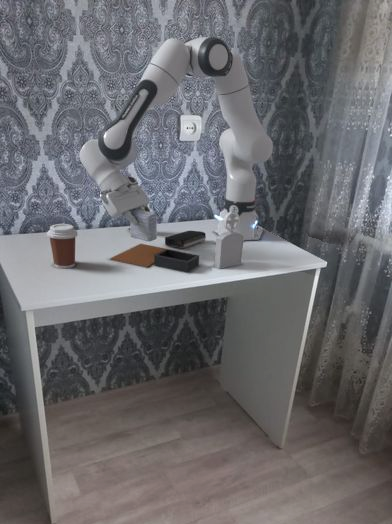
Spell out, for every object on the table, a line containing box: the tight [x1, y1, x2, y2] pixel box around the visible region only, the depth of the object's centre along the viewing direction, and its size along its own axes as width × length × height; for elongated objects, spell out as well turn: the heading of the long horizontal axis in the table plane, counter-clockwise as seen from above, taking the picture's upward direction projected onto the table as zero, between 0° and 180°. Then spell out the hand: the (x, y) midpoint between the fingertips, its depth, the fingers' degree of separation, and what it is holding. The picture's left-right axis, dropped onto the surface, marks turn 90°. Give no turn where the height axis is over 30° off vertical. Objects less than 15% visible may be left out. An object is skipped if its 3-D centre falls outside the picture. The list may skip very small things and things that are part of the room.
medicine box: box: [129, 209, 158, 243], centre depth 162 cm, size 8×4×9 cm, turn 56°
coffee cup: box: [46, 223, 78, 269], centre depth 152 cm, size 9×9×12 cm
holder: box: [153, 248, 200, 274], centre depth 159 cm, size 8×12×4 cm
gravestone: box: [213, 210, 244, 270], centre depth 159 cm, size 3×9×18 cm, turn 127°
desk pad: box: [109, 243, 171, 268], centre depth 167 cm, size 20×14×1 cm
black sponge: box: [164, 230, 207, 249], centre depth 180 cm, size 16×8×4 cm, turn 143°
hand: (141, 222), depth 162 cm, fingers closed on medicine box, 5 cm apart
